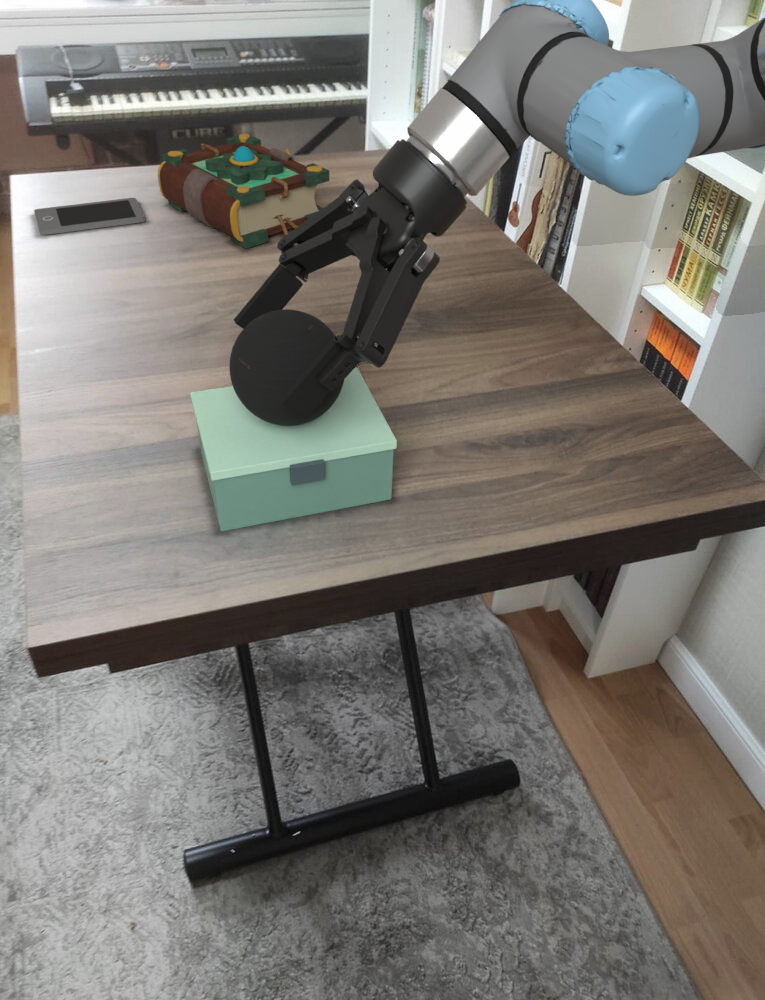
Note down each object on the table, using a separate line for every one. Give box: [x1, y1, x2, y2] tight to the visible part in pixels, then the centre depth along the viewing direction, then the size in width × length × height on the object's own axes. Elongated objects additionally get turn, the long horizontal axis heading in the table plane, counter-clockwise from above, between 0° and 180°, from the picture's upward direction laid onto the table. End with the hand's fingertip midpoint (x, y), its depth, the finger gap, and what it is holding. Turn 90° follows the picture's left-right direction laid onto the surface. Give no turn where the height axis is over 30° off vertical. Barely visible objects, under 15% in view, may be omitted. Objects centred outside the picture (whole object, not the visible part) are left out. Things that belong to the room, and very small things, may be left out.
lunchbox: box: [189, 367, 398, 532], centre depth 78 cm, size 16×13×7 cm
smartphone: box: [33, 197, 146, 236], centre depth 124 cm, size 15×8×1 cm, turn 113°
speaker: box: [229, 309, 344, 426], centre depth 73 cm, size 10×10×10 cm
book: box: [157, 133, 330, 249], centre depth 123 cm, size 27×21×10 cm
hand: (267, 367), depth 71 cm, fingers open, 13 cm apart
